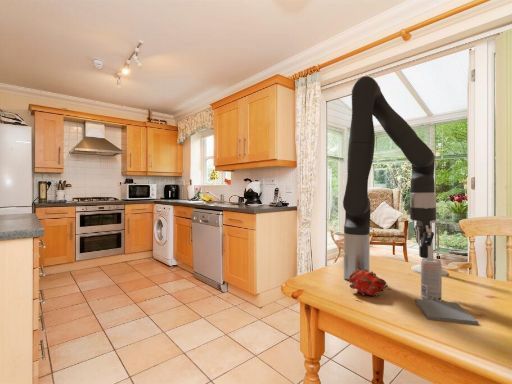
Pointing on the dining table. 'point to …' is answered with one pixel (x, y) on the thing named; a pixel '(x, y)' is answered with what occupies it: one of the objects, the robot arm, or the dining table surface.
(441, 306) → the mat
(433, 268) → the energy drink
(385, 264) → the dining table surface
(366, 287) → the dragon fruit
